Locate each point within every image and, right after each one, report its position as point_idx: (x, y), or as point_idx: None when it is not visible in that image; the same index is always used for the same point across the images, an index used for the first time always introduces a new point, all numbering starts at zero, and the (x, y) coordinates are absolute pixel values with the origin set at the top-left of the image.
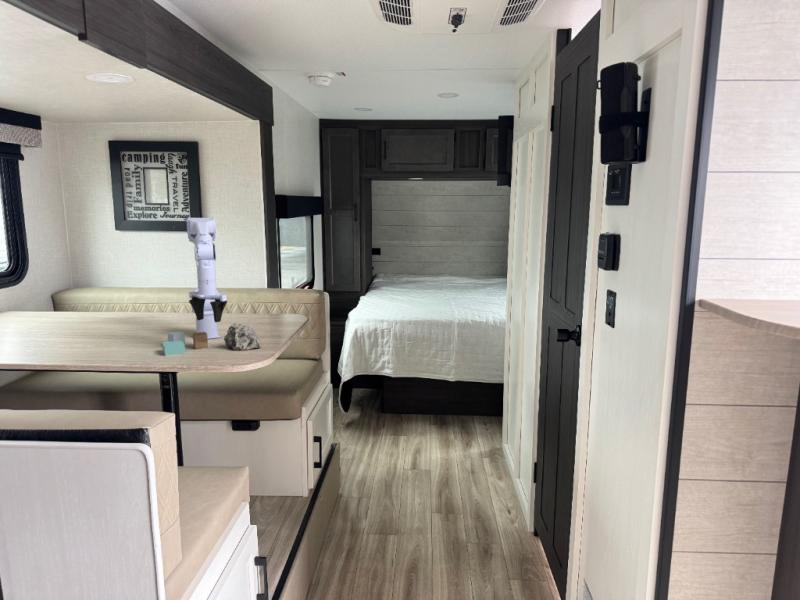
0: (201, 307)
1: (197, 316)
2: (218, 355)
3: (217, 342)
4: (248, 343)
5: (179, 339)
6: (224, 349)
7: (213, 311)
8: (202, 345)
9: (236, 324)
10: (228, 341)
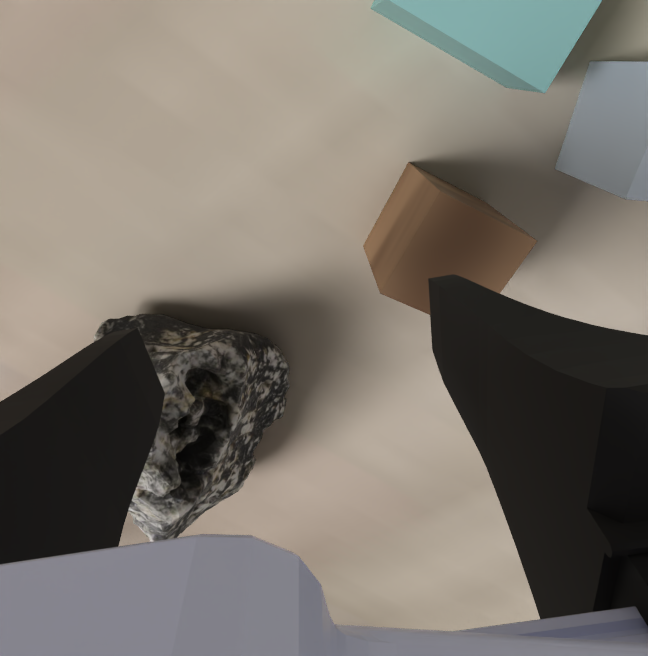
0: (499, 455)
1: (449, 288)
2: (96, 155)
3: (435, 370)
4: None
5: (612, 128)
6: (231, 290)
7: (31, 407)
8: (387, 219)
9: (145, 486)
10: (201, 339)
